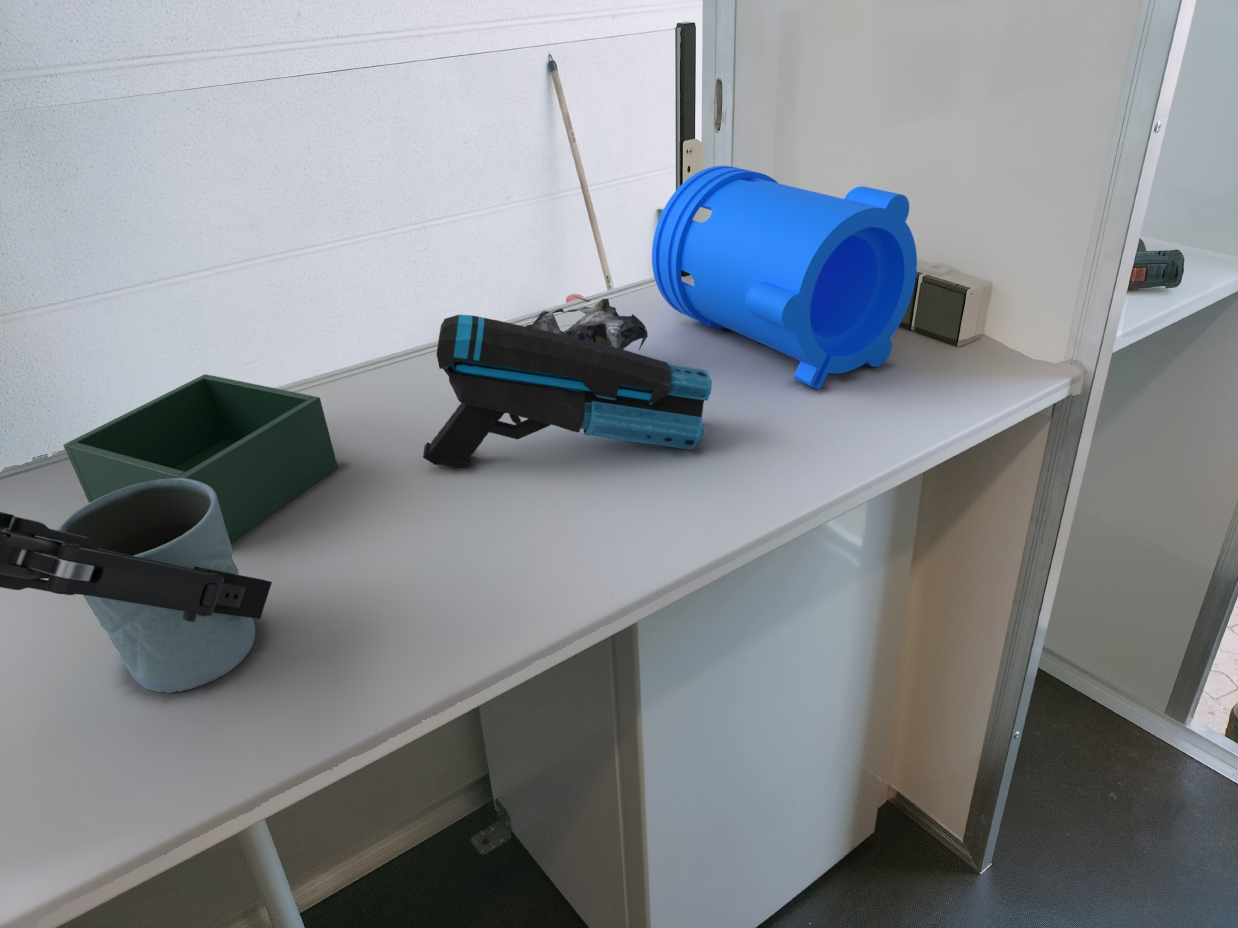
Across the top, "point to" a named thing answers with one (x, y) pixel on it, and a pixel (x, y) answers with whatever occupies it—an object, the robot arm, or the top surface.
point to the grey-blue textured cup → (179, 535)
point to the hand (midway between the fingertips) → (207, 583)
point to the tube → (789, 266)
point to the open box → (213, 447)
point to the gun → (559, 389)
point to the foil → (597, 325)
